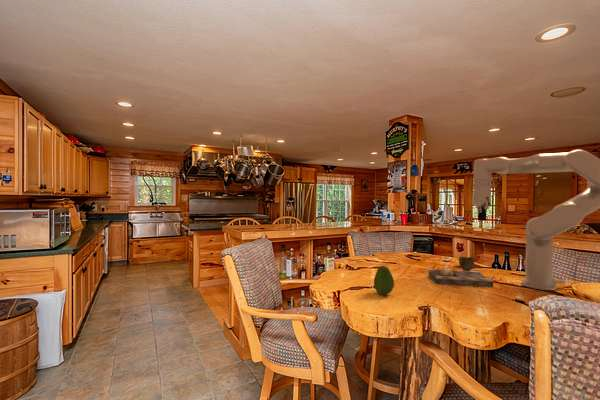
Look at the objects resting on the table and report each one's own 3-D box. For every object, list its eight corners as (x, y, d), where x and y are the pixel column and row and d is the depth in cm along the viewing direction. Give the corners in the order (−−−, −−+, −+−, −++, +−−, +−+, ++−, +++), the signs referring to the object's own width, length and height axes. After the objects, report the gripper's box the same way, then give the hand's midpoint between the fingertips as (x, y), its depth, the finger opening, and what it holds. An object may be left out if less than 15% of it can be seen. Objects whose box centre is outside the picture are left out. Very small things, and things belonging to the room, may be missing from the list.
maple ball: (435, 274, 145) (447, 280, 144) (439, 278, 139) (451, 284, 138) (441, 264, 144) (453, 270, 143) (445, 267, 138) (457, 273, 137)
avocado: (373, 296, 117) (373, 267, 117) (373, 290, 124) (374, 262, 124) (394, 298, 115) (394, 268, 115) (393, 292, 122) (393, 264, 122)
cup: (477, 274, 152) (477, 259, 152) (463, 274, 152) (463, 259, 152) (469, 270, 160) (469, 256, 159) (455, 270, 160) (456, 256, 160)
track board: (479, 278, 145) (479, 271, 145) (493, 287, 131) (493, 279, 131) (428, 275, 149) (428, 269, 149) (436, 283, 135) (436, 276, 135)
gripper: (468, 184, 153) (467, 219, 153) (480, 183, 138) (480, 221, 138) (483, 184, 152) (483, 219, 152) (498, 183, 137) (497, 222, 137)
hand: (481, 220), depth 145 cm, fingers closed
